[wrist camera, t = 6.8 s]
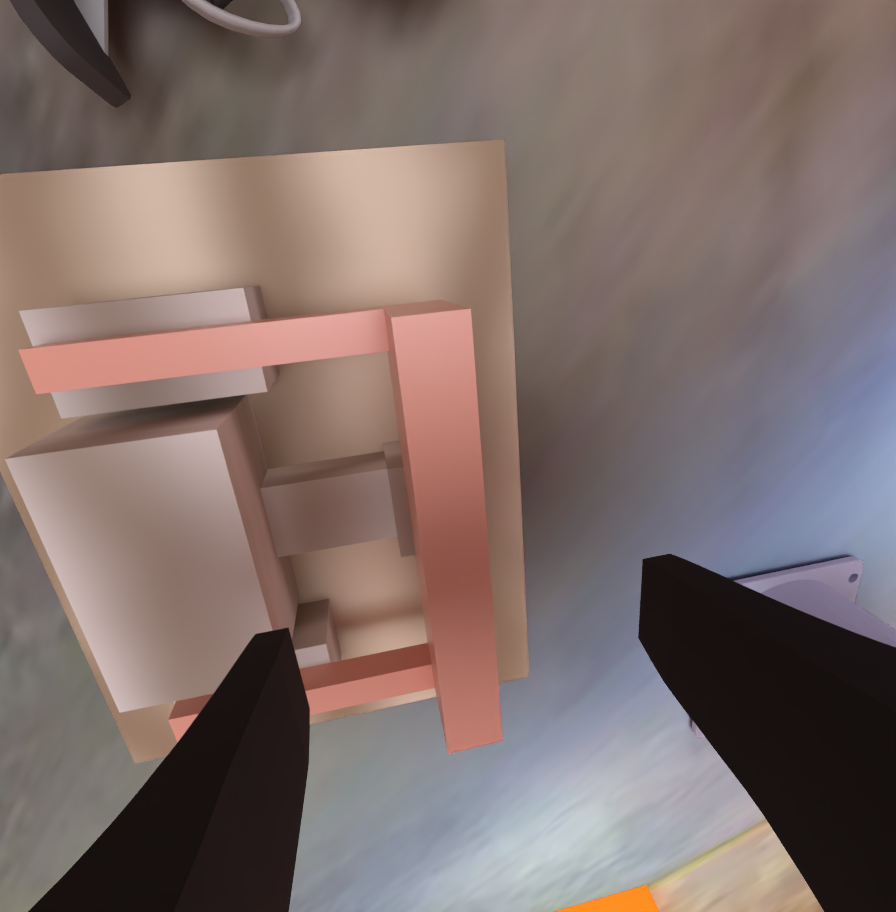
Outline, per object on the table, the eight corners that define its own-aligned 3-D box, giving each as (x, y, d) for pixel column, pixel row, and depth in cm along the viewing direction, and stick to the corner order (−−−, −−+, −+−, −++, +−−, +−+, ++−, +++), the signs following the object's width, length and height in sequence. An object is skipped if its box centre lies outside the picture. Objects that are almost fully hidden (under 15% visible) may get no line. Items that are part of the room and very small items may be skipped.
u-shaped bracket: (441, 299, 13) (471, 308, 10) (475, 656, 17) (502, 740, 14) (44, 343, 12) (-68, 369, 9) (187, 716, 16) (148, 824, 13)
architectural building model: (493, 149, 15) (558, 92, 10) (520, 656, 23) (566, 760, 18) (-92, 191, 13) (-348, 143, 8) (146, 736, 20) (83, 880, 16)
